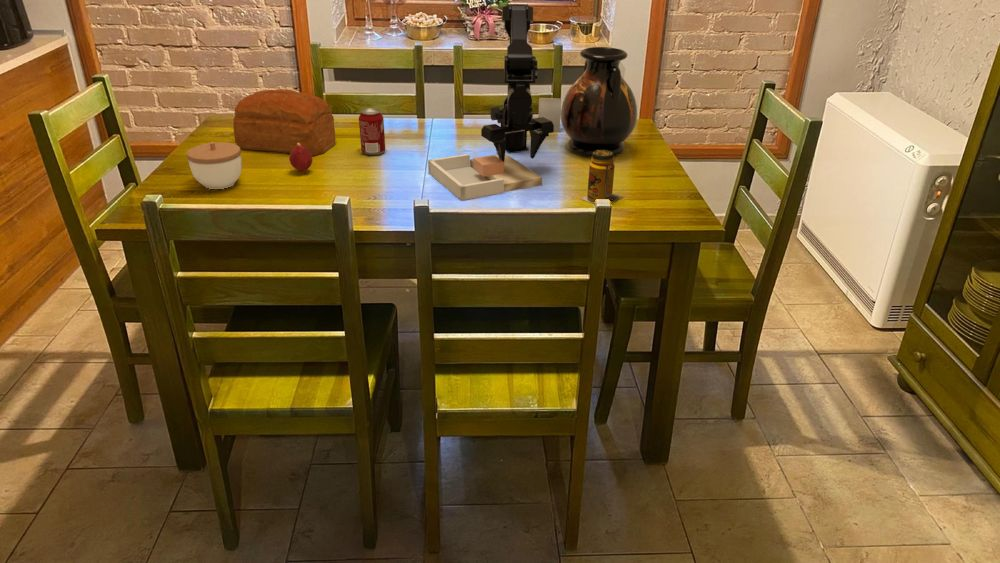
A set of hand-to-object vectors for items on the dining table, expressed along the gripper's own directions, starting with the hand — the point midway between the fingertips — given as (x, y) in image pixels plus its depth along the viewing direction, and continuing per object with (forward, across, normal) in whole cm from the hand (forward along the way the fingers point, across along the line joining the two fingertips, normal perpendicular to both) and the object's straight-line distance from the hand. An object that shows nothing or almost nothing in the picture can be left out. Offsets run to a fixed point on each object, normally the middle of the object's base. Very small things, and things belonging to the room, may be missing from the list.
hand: (517, 160), depth 194 cm
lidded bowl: (+4, +72, -26) cm, 76 cm away
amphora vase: (+4, -30, -7) cm, 31 cm away
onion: (+4, +51, -26) cm, 57 cm away
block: (+2, +8, 0) cm, 9 cm away
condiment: (+4, -11, +24) cm, 27 cm away
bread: (+4, +49, -49) cm, 70 cm away
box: (+4, +15, 0) cm, 15 cm away
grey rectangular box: (+4, -27, -29) cm, 40 cm away
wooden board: (+4, +4, 0) cm, 5 cm away
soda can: (+4, +29, -32) cm, 43 cm away
